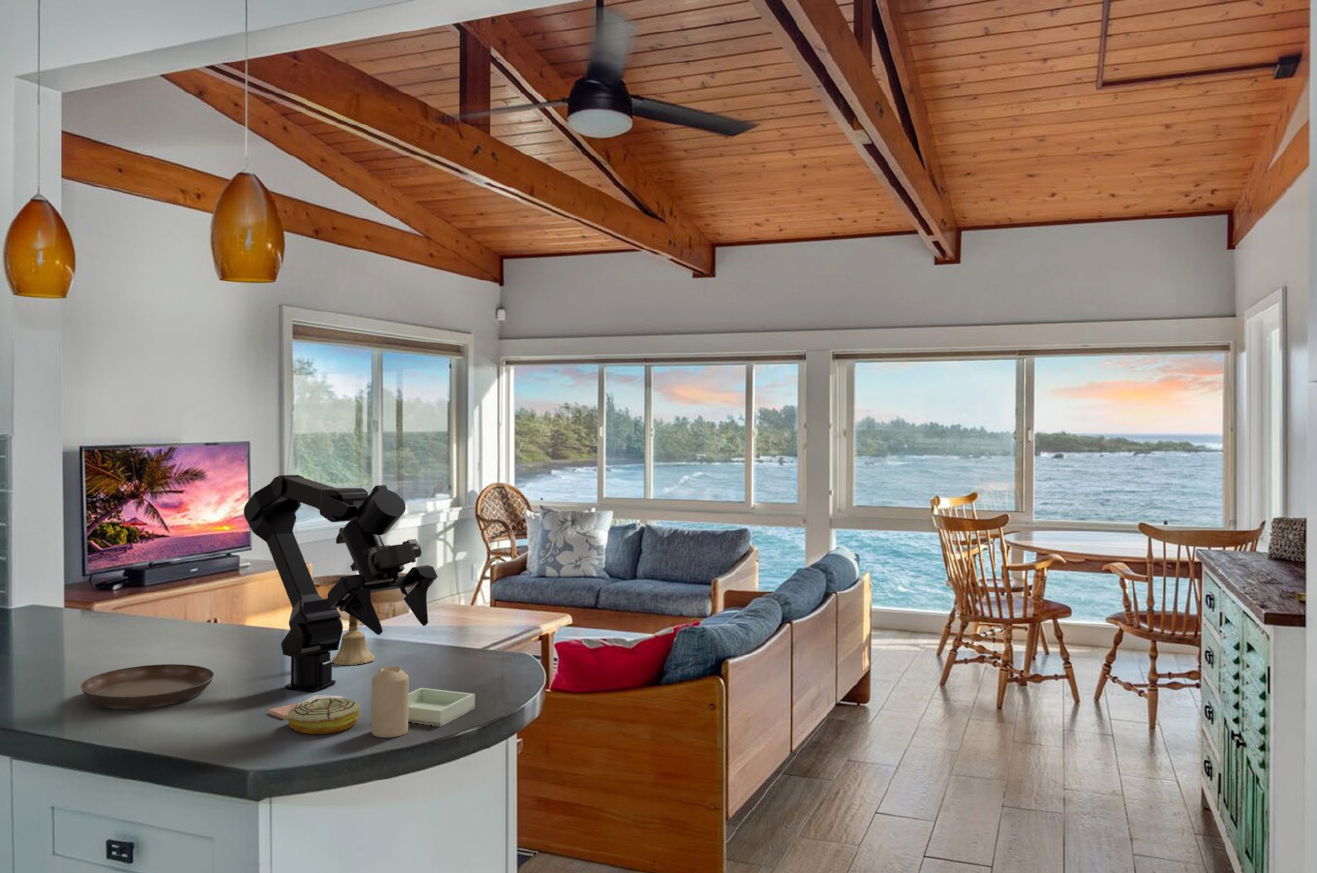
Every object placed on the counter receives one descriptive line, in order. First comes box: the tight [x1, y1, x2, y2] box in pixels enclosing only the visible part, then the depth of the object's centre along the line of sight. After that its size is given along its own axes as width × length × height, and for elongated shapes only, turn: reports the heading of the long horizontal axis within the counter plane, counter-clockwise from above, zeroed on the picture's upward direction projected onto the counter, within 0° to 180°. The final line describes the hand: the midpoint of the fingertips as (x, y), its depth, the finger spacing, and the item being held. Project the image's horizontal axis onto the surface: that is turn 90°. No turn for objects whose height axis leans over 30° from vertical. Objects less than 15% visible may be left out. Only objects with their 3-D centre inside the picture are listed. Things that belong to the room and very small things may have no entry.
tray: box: [408, 687, 476, 728], centre depth 158 cm, size 11×11×2 cm
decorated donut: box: [286, 698, 361, 735], centre depth 151 cm, size 10×11×4 cm
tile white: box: [301, 694, 344, 703], centre depth 163 cm, size 5×5×1 cm
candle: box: [371, 666, 410, 739], centre depth 148 cm, size 6×6×10 cm
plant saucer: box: [80, 663, 215, 710], centre depth 167 cm, size 21×21×3 cm
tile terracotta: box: [268, 702, 299, 721], centre depth 157 cm, size 5×5×1 cm
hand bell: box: [331, 614, 375, 666], centre depth 193 cm, size 8×8×16 cm
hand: (403, 629), depth 157 cm, fingers open, 9 cm apart
